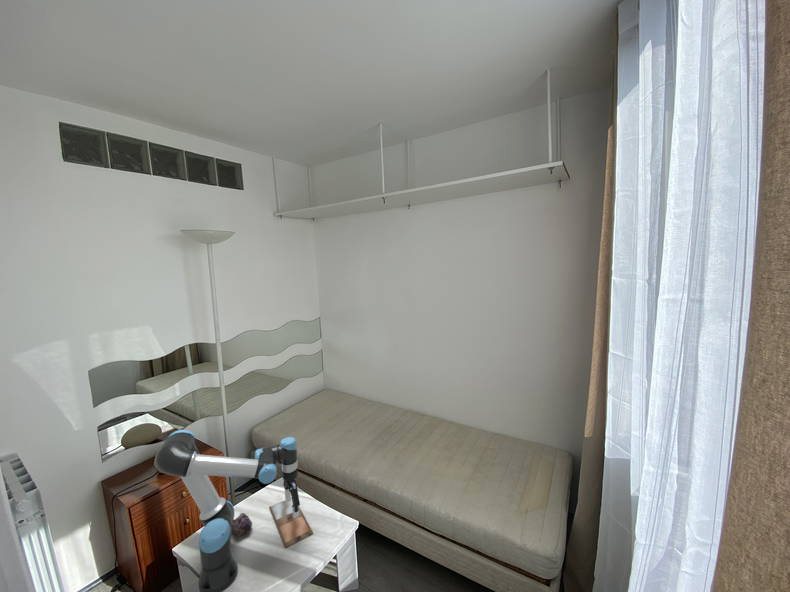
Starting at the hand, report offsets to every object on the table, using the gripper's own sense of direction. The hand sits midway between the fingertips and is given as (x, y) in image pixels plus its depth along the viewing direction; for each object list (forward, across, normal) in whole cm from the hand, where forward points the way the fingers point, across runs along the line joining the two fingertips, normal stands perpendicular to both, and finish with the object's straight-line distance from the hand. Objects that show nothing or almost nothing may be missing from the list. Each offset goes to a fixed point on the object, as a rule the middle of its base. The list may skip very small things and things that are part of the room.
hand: (291, 508), depth 164 cm
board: (+12, +8, -1) cm, 14 cm away
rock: (+4, +15, +25) cm, 30 cm away
